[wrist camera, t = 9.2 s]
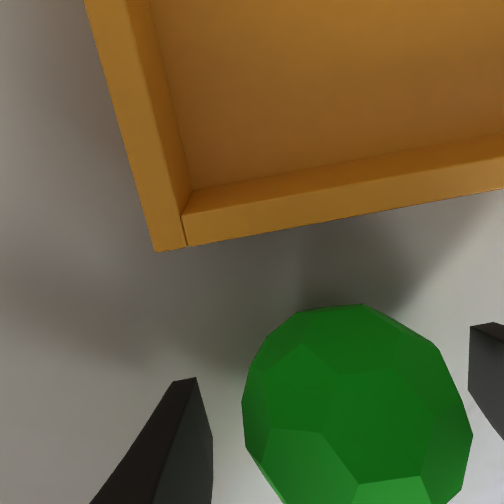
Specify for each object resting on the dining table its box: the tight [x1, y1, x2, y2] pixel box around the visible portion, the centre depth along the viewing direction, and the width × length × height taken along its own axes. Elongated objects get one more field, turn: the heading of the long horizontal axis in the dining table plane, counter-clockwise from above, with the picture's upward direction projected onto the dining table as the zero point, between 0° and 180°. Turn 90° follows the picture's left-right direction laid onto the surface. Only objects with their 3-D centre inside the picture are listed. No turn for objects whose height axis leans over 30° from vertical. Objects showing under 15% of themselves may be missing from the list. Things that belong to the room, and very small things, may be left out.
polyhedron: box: [241, 304, 473, 504], centre depth 9 cm, size 5×5×5 cm
